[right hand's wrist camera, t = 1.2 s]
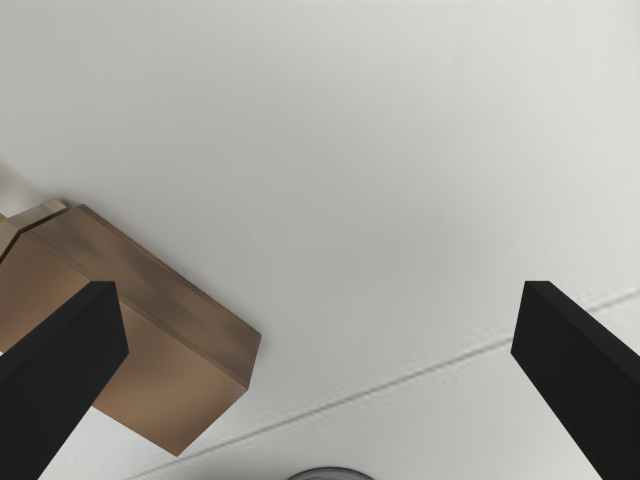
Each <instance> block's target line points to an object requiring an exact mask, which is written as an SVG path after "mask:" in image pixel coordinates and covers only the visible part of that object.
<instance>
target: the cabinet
mask: <svg viewBox="0 0 640 480" xmlns="http://www.w3.org/2000/svg"><path fill="white" fill-rule="evenodd" d="M90 281H115V284H116V289H117V294H118V299H119V304H120V309H121V314H122V318H123V323H124V328H125V333H126V338H127V343H128V348H129V354H128V356H127V357H126V358H125V360H124V361H123V363H122V364H121V365H120V367H119V368H118V369H117V371H116V372H115V374H114V375H113V376H112V378H111V379H110V380H109V382H108V383H107V385H106V386H105V387H104V389H103V390H102V391H101V393H100V394H99V396H98V397H97V398H96V400H95V401H94V402H93V404H92V405H91V406H93V407H94V408H96V409H98V410H99V411H101V412H103V413H104V414H106V415H108V416H109V417H111V418H113V419H114V420H116V421H118V422H119V423H121V424H123V425H124V426H126V427H128V428H129V429H131V430H133V431H134V432H136V433H138V434H139V435H141V436H143V437H144V438H146V439H148V440H149V441H151V442H153V443H154V444H156V445H158V446H159V447H161V448H163V449H164V450H166V451H168V452H169V453H171V454H173V455H174V456H176V457H177V456H178V455H179V454H181V453H182V452H183V451H184V450H185V449H186V448H187V447H188V446H189V445H190V444H191V443H192V442H193V441H194V440H195V439H196V438H197V437H199V436H200V435H201V434H202V433H203V432H204V431H205V430H206V429H207V428H208V427H209V426H210V425H211V424H212V423H213V422H214V421H215V420H216V419H218V418H219V417H220V416H221V415H222V414H223V413H224V412H225V411H226V410H227V409H228V408H229V407H230V406H231V405H232V404H233V403H234V402H236V401H237V400H238V399H239V398H240V397H241V396H242V395H243V394H244V393H245V392H246V391H247V390H248V388H249V384H250V380H251V376H252V371H253V367H254V363H255V359H256V355H257V351H258V347H259V343H260V338H261V335H260V334H259V333H258V332H256V331H255V330H254V329H252V328H251V327H250V326H248V325H247V324H245V323H244V322H243V321H241V320H240V319H239V318H237V317H236V316H235V315H233V314H232V313H231V312H229V311H228V310H226V309H225V308H224V307H222V306H221V305H220V304H218V303H217V302H216V301H214V300H213V299H211V298H210V297H209V296H207V295H206V294H205V293H203V292H202V291H201V290H199V289H198V288H196V287H195V286H194V285H192V284H191V283H190V282H188V281H187V280H186V279H184V278H183V277H181V276H180V275H179V274H177V273H176V272H175V271H173V270H172V269H171V268H169V267H168V266H167V265H165V264H164V263H162V262H161V261H160V260H158V259H157V258H156V257H154V256H153V255H152V254H150V253H149V252H147V251H146V250H145V249H143V248H142V247H141V246H139V245H138V244H137V243H135V242H134V241H132V240H131V239H130V238H128V237H127V236H126V235H124V234H123V233H122V232H120V231H119V230H117V229H116V228H115V227H113V226H112V225H111V224H109V223H108V222H107V221H105V220H104V219H103V218H101V217H100V216H98V215H97V214H96V213H94V212H93V211H92V210H90V209H89V208H88V207H86V206H85V205H83V204H82V205H80V206H78V207H76V208H74V209H72V210H70V211H68V212H66V213H64V214H62V215H60V216H57V217H55V218H53V219H51V220H49V221H47V222H45V223H43V224H41V225H39V226H37V227H35V228H33V229H31V230H29V231H27V232H25V233H23V234H21V235H20V237H19V238H18V240H17V241H16V243H15V244H14V246H13V247H12V249H11V250H10V252H9V253H8V254H7V256H6V257H5V259H4V260H3V262H2V263H1V265H0V351H1V352H3V353H5V352H6V351H7V350H8V349H10V348H11V347H12V346H13V345H14V344H16V343H17V342H18V341H19V340H20V339H22V338H23V337H24V336H25V335H27V334H28V333H29V332H30V331H31V330H33V329H34V328H35V327H36V326H37V325H39V324H40V323H41V322H42V321H43V320H45V319H46V318H47V317H48V316H49V315H51V314H52V313H53V312H54V311H55V310H57V309H58V308H59V307H60V306H61V305H63V304H64V303H65V302H66V301H67V300H69V299H70V298H71V297H72V296H73V295H75V294H76V293H77V292H78V291H79V290H81V289H82V288H83V287H84V286H85V285H87V284H88V283H89V282H90Z"/></svg>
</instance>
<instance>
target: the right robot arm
mask: <svg viewBox="0 0 640 480" xmlns="http://www.w3.org/2000/svg"><path fill="white" fill-rule="evenodd" d="M128 354H129V348H128V343H127V338H126V333H125V328H124V323H123V318H122V314H121V309H120V304H119V299H118V294H117V289H116V284H115V281H90V282H89V283H88V284H87V285H85V286H84V287H83V288H82V289H81V290H79V291H78V292H77V293H76V294H75V295H73V296H72V297H71V298H70V299H69V300H67V301H66V302H65V303H64V304H63V305H61V306H60V307H59V308H58V309H57V310H55V311H54V312H53V313H52V314H51V315H49V316H48V317H47V318H46V319H45V320H43V321H42V322H41V323H40V324H39V325H37V326H36V327H35V328H34V329H33V330H31V331H30V332H29V333H28V334H27V335H25V336H24V337H23V338H22V339H20V340H19V341H18V342H17V343H16V344H14V345H13V346H12V347H11V348H10V349H8V350H7V351H6V352H5V353H4V354H2V355H1V356H0V480H38V478H39V477H40V475H41V474H42V473H43V471H44V470H45V469H46V467H47V466H48V464H49V463H50V462H51V460H52V459H53V458H54V456H55V455H56V453H57V452H58V451H59V449H60V448H61V447H62V445H63V444H64V442H65V441H66V440H67V438H68V437H69V436H70V434H71V433H72V431H73V430H74V429H75V427H76V426H77V425H78V423H79V422H80V420H81V419H82V418H83V416H84V415H85V414H86V412H87V411H88V409H89V408H90V407H91V405H92V404H93V402H94V401H95V400H96V398H97V397H98V396H99V394H100V393H101V391H102V390H103V389H104V387H105V386H106V385H107V383H108V382H109V380H110V379H111V378H112V376H113V375H114V374H115V372H116V371H117V369H118V368H119V367H120V365H121V364H122V363H123V361H124V360H125V358H126V357H127V356H128ZM511 354H512V356H513V357H514V358H515V360H516V361H517V363H518V364H519V365H520V367H521V368H522V369H523V371H524V372H525V374H526V375H527V376H528V378H529V379H530V380H531V382H532V383H533V385H534V386H535V387H536V389H537V390H538V391H539V393H540V394H541V396H542V397H543V398H544V400H545V401H546V402H547V404H548V405H549V407H550V408H551V409H552V411H553V412H554V414H555V415H556V416H557V418H558V419H559V420H560V422H561V423H562V425H563V426H564V427H565V429H566V430H567V431H568V433H569V434H570V436H571V437H572V438H573V440H574V441H575V442H576V444H577V445H578V447H579V448H580V449H581V451H582V452H583V453H584V455H585V456H586V458H587V459H588V460H589V462H590V463H591V464H592V466H593V467H594V469H595V470H596V471H597V473H598V474H599V475H600V477H601V478H602V480H640V356H639V355H638V354H636V353H635V352H634V351H633V350H632V349H630V348H629V347H628V346H627V345H626V344H624V343H623V342H622V341H621V340H620V339H618V338H617V337H616V336H615V335H613V334H612V333H611V332H610V331H609V330H607V329H606V328H605V327H604V326H603V325H601V324H600V323H599V322H598V321H597V320H595V319H594V318H593V317H592V316H591V315H589V314H588V313H587V312H586V311H585V310H583V309H582V308H581V307H580V306H579V305H577V304H576V303H575V302H574V301H573V300H571V299H570V298H569V297H568V296H567V295H565V294H564V293H563V292H562V291H561V290H559V289H558V288H557V287H556V286H555V285H553V284H552V283H551V282H550V281H525V284H524V289H523V294H522V299H521V304H520V309H519V314H518V318H517V323H516V328H515V333H514V338H513V343H512V348H511ZM289 480H371V479H370V478H368V477H366V476H364V475H362V474H359V473H356V472H353V471H349V470H344V469H334V468H327V469H317V470H312V471H308V472H305V473H302V474H299V475H297V476H295V477H293V478H291V479H289Z"/></svg>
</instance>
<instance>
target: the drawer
mask: <svg viewBox="0 0 640 480" xmlns="http://www.w3.org/2000/svg"><path fill="white" fill-rule="evenodd" d="M66 208H67V206H65V205H64V204H62V203H61V202H60V201H58V200H57V199H53V200H51V201H48V202H46V203H43V204H41V205H39V206H36V207H34V208H31V209H29V210H27V211H24V212H22V213H20V214H17V215H15V216H12V217H10V218H7V217H5V216H4V215H2V214H1V213H0V265H1V263H2V262H3V260H4V259H5V257H6V256H7V254H8V253H9V252H10V250H11V249H12V247H13V246H14V244H15V243H16V241H17V240H18V238H19V237H20V235H21V234H23V233H25V232H27V231H29V230H31V229H33V228H35V227H37V226H39V225H41V224H43V223H45V222H47V221H49V220H51V219H53V218H55V217H57V216H60V215H62V214H63V212H64V211H65V210H66Z"/></svg>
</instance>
